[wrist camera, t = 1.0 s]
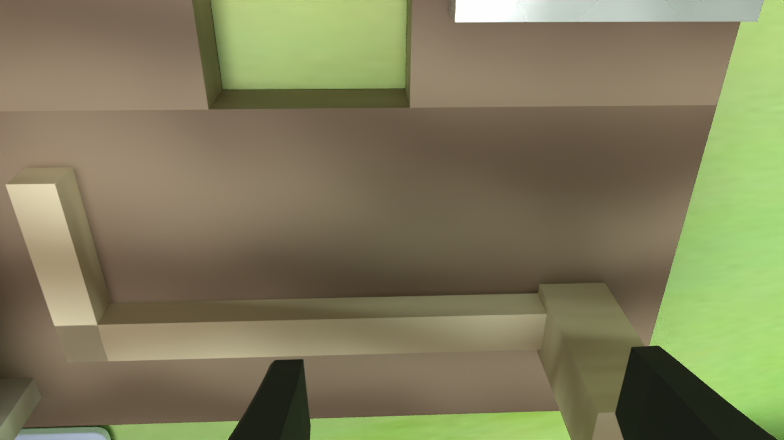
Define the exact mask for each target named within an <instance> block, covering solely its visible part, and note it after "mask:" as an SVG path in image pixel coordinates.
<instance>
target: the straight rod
mask: <svg viewBox="0 0 784 440" xmlns="http://www.w3.org/2000/svg"><path fill="white" fill-rule="evenodd" d="M763 1H764V0H448V13H449V15H450V16H451V17H452V19H453V20H454V21H455V22H729V21H758V18H759V14H760V11H761V7H762V4H763Z"/></svg>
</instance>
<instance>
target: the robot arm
mask: <svg viewBox="0 0 784 440" xmlns="http://www.w3.org/2000/svg"><path fill="white" fill-rule="evenodd" d="M615 415H616V418H617V421H618V424H619V427H620V431H621V434H622V437H623V440H777V439H776V438H774V437H773V436H772V435H770V434H769V433H767V432H766V431H765V430H763V429H762V428H761V427H760V426H758V425H757V424H756V423H754V422H753V421H752V420H750V419H749V418H748V417H746V416H745V415H744V414H743V413H741V412H740V411H739V410H737V409H736V408H735V407H734V406H732V405H731V404H730V403H729V402H727V401H726V400H725V399H724V398H722V397H721V396H720V395H719V394H717V393H716V392H715V391H714V390H713V389H711V388H710V387H709V386H708V385H706V384H705V383H704V382H703V381H702V380H700V379H699V378H698V377H697V376H696V375H694V374H693V373H692V372H691V371H689V370H688V369H687V368H686V367H685V366H683V365H682V364H681V363H680V362H679V361H677V360H676V359H675V358H674V357H672V356H671V355H670V354H669V353H667V352H666V351H665V350H664V349H662V348H661V347H660V346H640V347H631V351H630V355H629V359H628V363H627V367H626V371H625V375H624V379H623V383H622V387H621V391H620V395H619V399H618V403H617V407H616V411H615ZM310 427H311V426H310V416H309V407H308V398H307V389H306V379H305V370H304V361H303V359H288V360H275V361H273V362H272V363H271V364H270V366H269V368H268V371H267V373H266V375H265V377H264V379H263V381H262V383H261V385H260V387H259V388H258V390H257V392H256V394H255V396H254V398H253V399H252V401H251V403H250V405H249V406H248V408H247V410H246V412H245V413H244V415H243V416H242V418H241V420H240V421H239V423H238V425H237V426H236V428H235V429H234V431H233V433H232V434H231V436H230V437H229V439H228V440H310ZM14 440H111V438H110V435H109V433H108V432H107V431H106V430H105V429H103V428H101V427H72V428H41V429H21V430H20V432H19V433H18V435H17V436H16V438H15V439H14Z"/></svg>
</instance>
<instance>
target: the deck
mask: <svg viewBox="0 0 784 440" xmlns="http://www.w3.org/2000/svg"><path fill="white" fill-rule="evenodd" d="M740 22H741V21H729V22H455V21H454V20H453V19H452V17H451V16H450V15H449V13H448V0H407V28H406V86H405V89H304V90H222V83H221V76H220V69H219V62H218V54H217V47H216V40H215V32H214V25H213V18H212V10H211V3H210V0H0V440H14V439H15V438H16V436H17V435H18V433H19V432H20V430H21V428H26V427H58V426H89V425H121V424H153V423H184V422H216V421H240V420H241V418H242V416H243V415H244V413H245V412H246V410H247V408H248V406H249V405H250V403H251V401H252V399H253V398H254V396H255V394H256V392H257V390H258V388H259V387H260V385H261V383H262V381H263V379H264V377H265V375H266V373H267V371H268V368H269V366H270V364H271V363H272V362H273V361H275V360H288V359H303V361H304V370H305V379H306V389H307V398H308V407H309V416H310V419H311V418H342V417H374V416H406V415H437V414H469V413H501V412H532V411H560V409H559V407H558V404H557V402H556V399H555V397H554V394H553V391H552V389H551V386H550V384H549V381H548V378H547V376H546V373H545V371H544V368H543V366H542V363H541V360H540V358H539V355H538V353H537V350H507V351H470V352H433V353H396V354H359V355H322V356H285V357H248V358H211V359H174V360H137V361H100V362H67V361H66V358H65V355H64V352H63V349H62V347H61V344H60V341H59V338H58V335H57V332H56V329H55V326H54V323H53V321H52V318H51V315H50V312H49V309H48V306H47V303H46V300H45V297H44V295H43V292H42V289H41V286H40V283H39V280H38V277H37V274H36V271H35V269H34V266H33V263H32V260H31V257H30V254H29V251H28V248H27V245H26V243H25V240H24V237H23V234H22V231H21V228H20V225H19V222H18V219H17V217H16V214H15V211H14V208H13V205H12V202H11V199H10V196H9V193H8V191H7V188H6V185H5V184H7V183H8V182H9V181H10V180H12V179H13V178H14V177H15V176H17V175H18V174H19V173H20V172H22V171H23V170H24V169H25V168H46V167H73V170H74V174H75V177H76V181H77V184H78V188H79V192H80V195H81V199H82V202H83V206H84V209H85V213H86V216H87V220H88V224H89V227H90V231H91V234H92V238H93V241H94V245H95V249H96V252H97V256H98V259H99V263H100V266H101V270H102V274H103V277H104V281H105V284H106V288H107V291H108V295H109V299H110V302H111V303H136V302H179V301H223V300H267V299H311V298H355V297H399V296H443V295H486V294H530V293H538V289H539V284H574V283H605V284H606V285H607V287H608V289H609V290H610V292H611V293H612V295H613V297H614V298H615V300H616V301H617V303H618V304H619V306H620V308H621V309H622V311H623V312H624V314H625V316H626V317H627V319H628V320H629V322H630V323H631V325H632V327H633V328H634V330H635V331H636V333H637V335H638V336H639V338H640V339H641V341H642V342H643V344H644V346H649V344H650V340H651V337H652V333H653V330H654V326H655V323H656V319H657V315H658V312H659V308H660V305H661V301H662V298H663V294H664V291H665V287H666V284H667V280H668V277H669V273H670V269H671V266H672V262H673V259H674V255H675V252H676V248H677V245H678V241H679V238H680V234H681V230H682V227H683V223H684V220H685V216H686V213H687V209H688V206H689V202H690V199H691V195H692V192H693V188H694V184H695V181H696V177H697V174H698V170H699V167H700V163H701V160H702V156H703V153H704V149H705V145H706V142H707V138H708V135H709V131H710V128H711V124H712V121H713V117H714V114H715V110H716V107H717V103H718V99H719V96H720V92H721V89H722V85H723V82H724V78H725V75H726V71H727V68H728V64H729V60H730V57H731V53H732V50H733V46H734V43H735V39H736V36H737V32H738V29H739V25H740Z"/></svg>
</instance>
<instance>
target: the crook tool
mask: <svg viewBox="0 0 784 440" xmlns="http://www.w3.org/2000/svg"><path fill="white" fill-rule="evenodd" d="M5 185H6V188H7V191H8V193H9V196H10V199H11V202H12V205H13V208H14V211H15V214H16V217H17V219H18V222H19V225H20V228H21V231H22V234H23V237H24V240H25V243H26V245H27V248H28V251H29V254H30V257H31V260H32V263H33V266H34V269H35V271H36V274H37V277H38V280H39V283H40V286H41V289H42V292H43V295H44V297H45V300H46V303H47V306H48V309H49V312H50V315H51V318H52V321H53V323H54V326H55V329H56V332H57V335H58V338H59V341H60V344H61V347H62V349H63V352H64V355H65V358H66V361H67V362H100V361H137V360H174V359H211V358H248V357H285V356H322V355H359V354H396V353H433V352H470V351H507V350H537V353H538V355H539V358H540V360H541V363H542V366H543V368H544V371H545V373H546V376H547V378H548V381H549V384H550V386H551V389H552V391H553V394H554V397H555V399H556V402H557V404H558V407H559V409H560V412H561V415H562V417H563V420H564V422H565V425H566V428H567V430H568V433H569V435H570V438H571V440H623V437H622V434H621V431H620V427H619V424H618V421H617V418H616V415H615V411H616V407H617V403H618V399H619V395H620V391H621V387H622V383H623V379H624V375H625V371H626V367H627V363H628V359H629V355H630V351H631V347H640V346H644V344H643V342H642V341H641V339H640V338H639V336H638V335H637V333H636V331H635V330H634V328H633V327H632V325H631V323H630V322H629V320H628V319H627V317H626V316H625V314H624V312H623V311H622V309H621V308H620V306H619V304H618V303H617V301H616V300H615V298H614V297H613V295H612V293H611V292H610V290H609V289H608V287H607V285H606V284H605V283H574V284H539V289H538V293H530V294H486V295H443V296H399V297H355V298H311V299H267V300H223V301H179V302H136V303H111V302H110V299H109V295H108V291H107V288H106V284H105V281H104V277H103V274H102V270H101V266H100V263H99V259H98V256H97V252H96V249H95V245H94V241H93V238H92V234H91V231H90V227H89V224H88V220H87V216H86V213H85V209H84V206H83V202H82V199H81V195H80V192H79V188H78V184H77V181H76V177H75V174H74V170H73V167H46V168H25V169H24V170H23V171H22V172H20V173H19V174H18V175H17V176H15V177H14V178H13V179H12V180H10V181H9V182H8V183H7V184H5Z"/></svg>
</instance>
